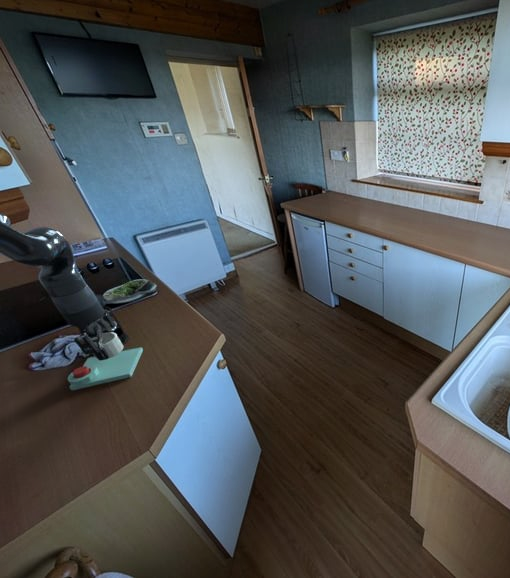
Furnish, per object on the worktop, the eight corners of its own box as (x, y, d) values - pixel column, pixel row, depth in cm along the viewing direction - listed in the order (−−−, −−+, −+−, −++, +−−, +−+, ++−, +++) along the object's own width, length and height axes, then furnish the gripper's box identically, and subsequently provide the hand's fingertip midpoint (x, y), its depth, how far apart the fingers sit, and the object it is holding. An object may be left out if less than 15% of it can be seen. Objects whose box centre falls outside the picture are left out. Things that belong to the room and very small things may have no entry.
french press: (128, 346, 97) (93, 288, 85) (91, 358, 92) (48, 298, 80) (128, 328, 105) (96, 272, 93) (94, 338, 100) (55, 281, 88)
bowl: (92, 362, 82) (82, 349, 79) (101, 347, 87) (92, 335, 85) (120, 357, 84) (111, 344, 81) (127, 342, 89) (119, 330, 87)
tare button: (73, 379, 82) (70, 375, 81) (78, 371, 85) (75, 367, 84) (87, 376, 83) (84, 372, 82) (92, 368, 86) (89, 364, 85)
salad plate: (112, 313, 112) (106, 303, 110) (91, 300, 120) (85, 290, 117) (164, 290, 127) (160, 281, 124) (143, 280, 134) (138, 271, 132)
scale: (69, 391, 82) (63, 384, 80) (88, 361, 91) (83, 354, 90) (131, 377, 86) (126, 370, 85) (143, 350, 96) (139, 343, 94)
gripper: (73, 292, 81) (103, 338, 90) (44, 323, 70) (82, 372, 78) (106, 287, 83) (132, 332, 92) (83, 316, 72) (116, 364, 81)
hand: (109, 350), depth 85 cm, fingers closed on bowl, 6 cm apart
